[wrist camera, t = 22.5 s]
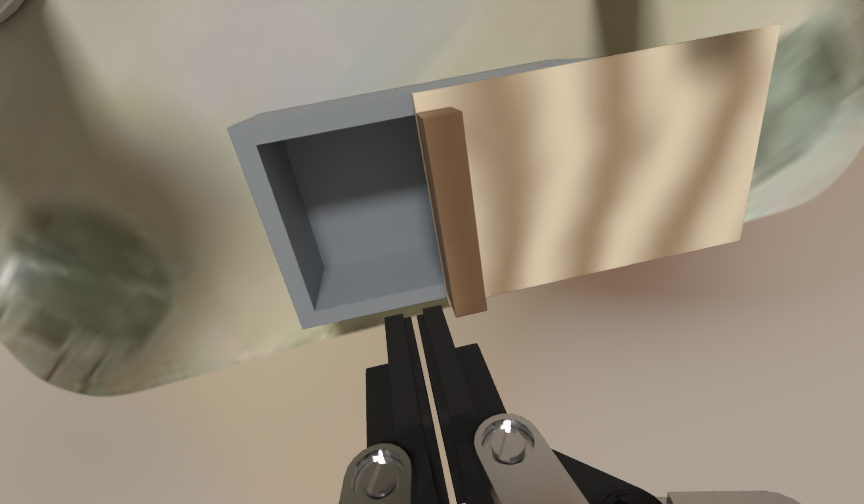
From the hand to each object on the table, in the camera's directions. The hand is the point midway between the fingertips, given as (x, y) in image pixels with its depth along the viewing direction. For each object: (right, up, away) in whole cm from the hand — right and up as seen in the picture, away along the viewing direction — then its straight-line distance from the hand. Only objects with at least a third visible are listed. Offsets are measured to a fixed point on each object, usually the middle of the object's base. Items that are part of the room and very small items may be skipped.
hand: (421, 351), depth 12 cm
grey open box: (0, +9, +22) cm, 23 cm away
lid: (+11, +8, +15) cm, 20 cm away
